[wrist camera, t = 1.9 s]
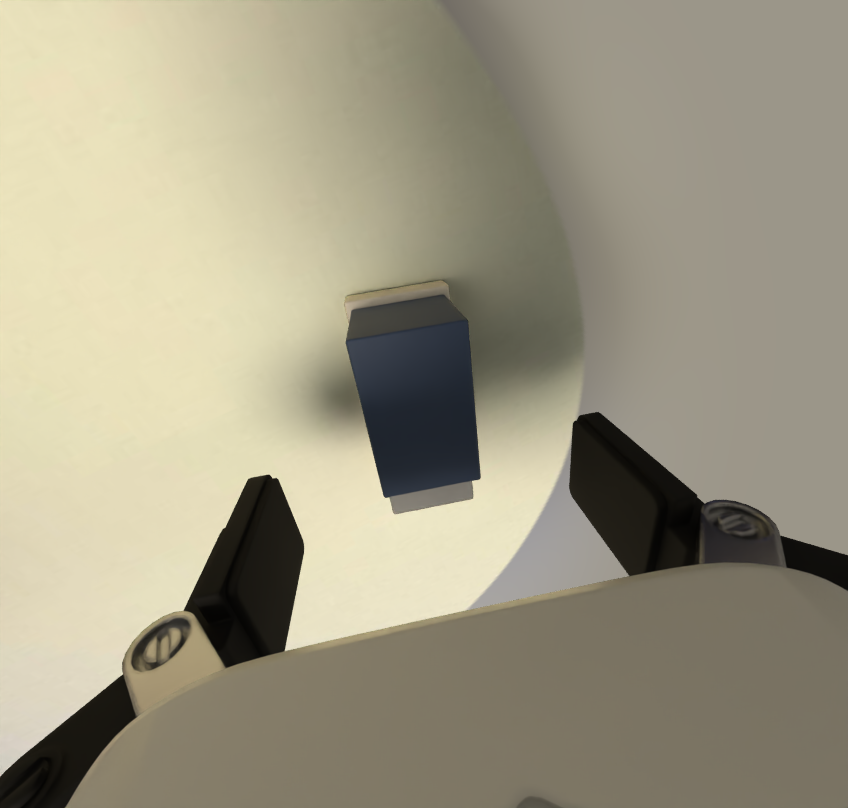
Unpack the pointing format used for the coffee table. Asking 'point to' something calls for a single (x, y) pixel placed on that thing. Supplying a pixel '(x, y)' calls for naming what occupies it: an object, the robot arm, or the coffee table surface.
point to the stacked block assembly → (416, 393)
